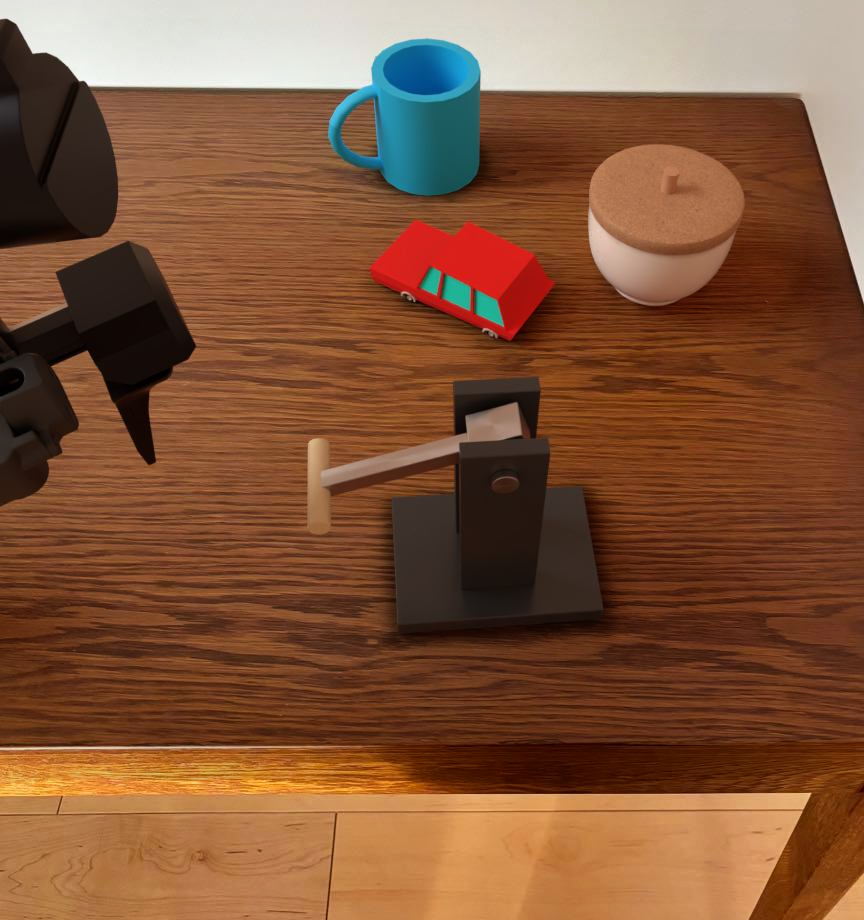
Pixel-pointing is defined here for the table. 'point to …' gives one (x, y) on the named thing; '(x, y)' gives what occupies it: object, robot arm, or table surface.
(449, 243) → the toy car
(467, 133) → the mug
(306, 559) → the table surface
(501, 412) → the lever
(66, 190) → the robot arm
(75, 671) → the table surface
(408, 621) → the bracket
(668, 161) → the trinket box
